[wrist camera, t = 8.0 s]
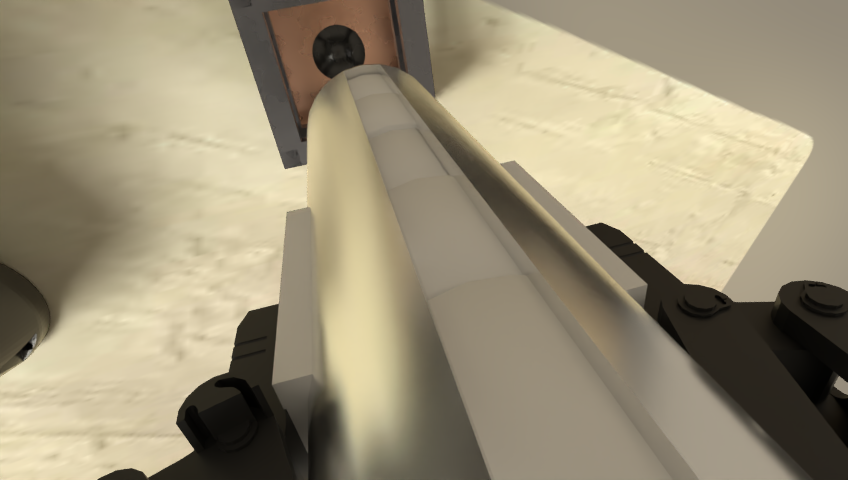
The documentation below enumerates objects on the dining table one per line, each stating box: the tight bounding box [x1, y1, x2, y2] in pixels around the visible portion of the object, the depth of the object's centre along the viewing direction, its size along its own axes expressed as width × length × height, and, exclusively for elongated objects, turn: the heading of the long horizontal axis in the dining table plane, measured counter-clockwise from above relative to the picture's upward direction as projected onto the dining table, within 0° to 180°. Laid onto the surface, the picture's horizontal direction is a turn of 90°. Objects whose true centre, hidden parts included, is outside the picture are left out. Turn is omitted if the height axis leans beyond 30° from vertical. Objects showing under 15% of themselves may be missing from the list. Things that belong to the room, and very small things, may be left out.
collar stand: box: [229, 0, 435, 169], centre depth 40 cm, size 14×14×9 cm
